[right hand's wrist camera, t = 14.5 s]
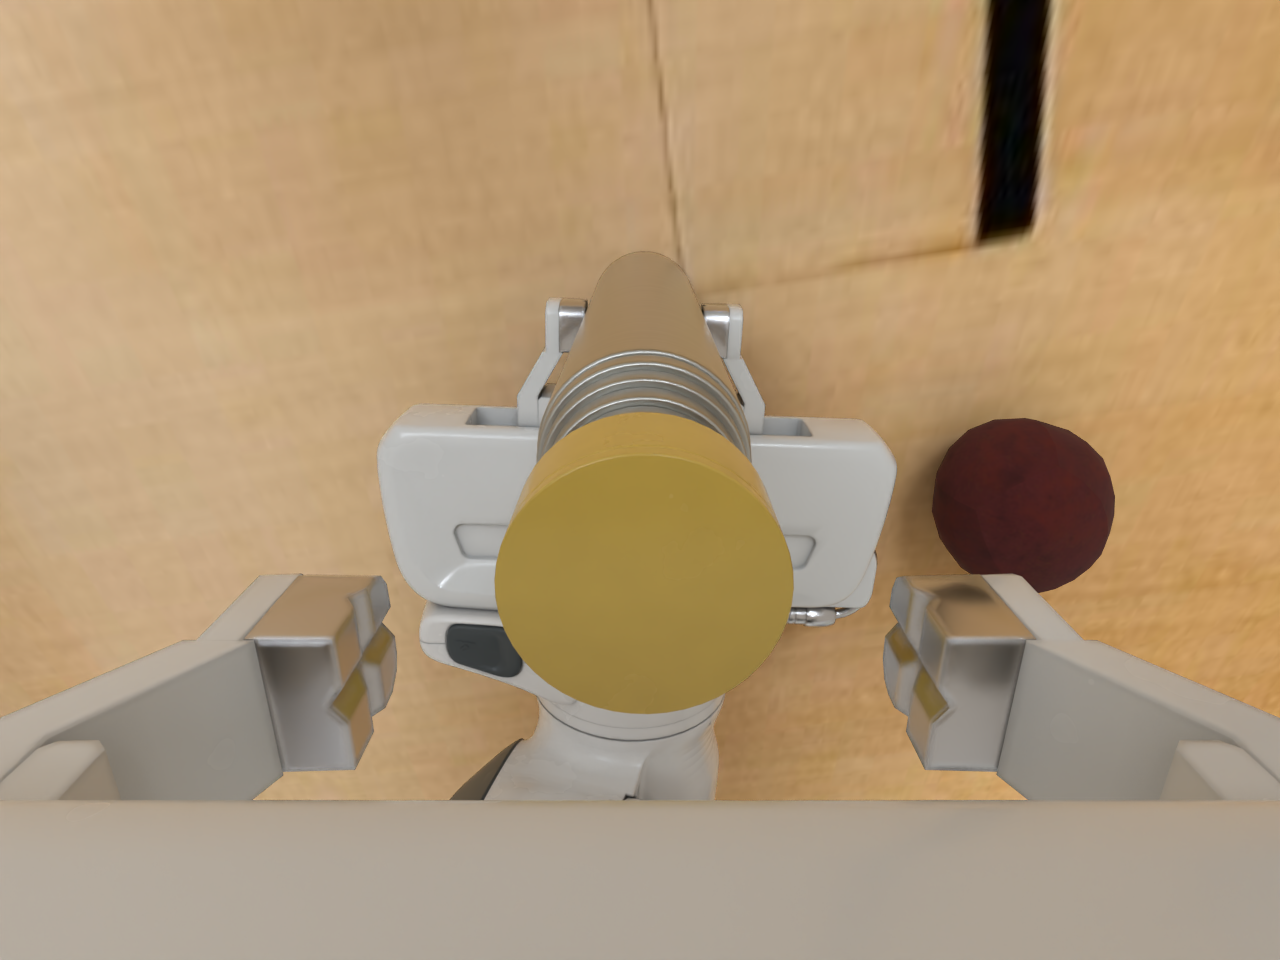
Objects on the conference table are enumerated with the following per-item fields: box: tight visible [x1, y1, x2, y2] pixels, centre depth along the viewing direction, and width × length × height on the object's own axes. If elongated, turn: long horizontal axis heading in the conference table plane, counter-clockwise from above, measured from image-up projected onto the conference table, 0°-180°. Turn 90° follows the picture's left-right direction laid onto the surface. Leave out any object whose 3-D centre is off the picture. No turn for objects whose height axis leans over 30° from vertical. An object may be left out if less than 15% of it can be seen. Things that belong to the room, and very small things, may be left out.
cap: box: [494, 412, 794, 714], centre depth 11 cm, size 4×4×2 cm
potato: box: [932, 418, 1115, 593], centre depth 33 cm, size 7×8×7 cm
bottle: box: [536, 252, 752, 464], centre depth 22 cm, size 4×4×25 cm
